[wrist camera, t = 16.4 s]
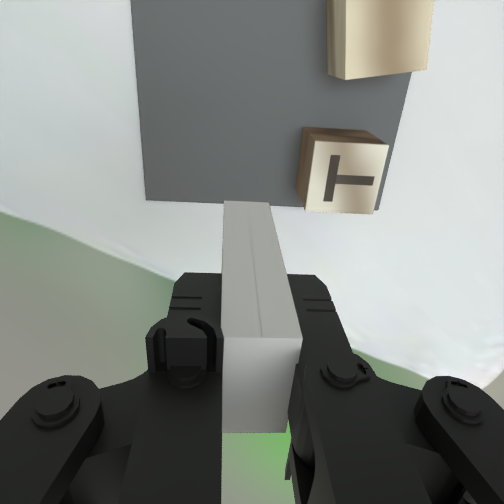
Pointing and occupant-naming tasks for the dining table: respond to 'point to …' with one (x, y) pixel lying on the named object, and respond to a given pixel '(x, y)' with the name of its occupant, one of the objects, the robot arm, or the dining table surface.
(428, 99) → the dining table surface
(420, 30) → the maple block
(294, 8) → the rubber mat
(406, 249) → the dining table surface
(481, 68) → the dining table surface
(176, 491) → the robot arm
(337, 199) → the walnut block
